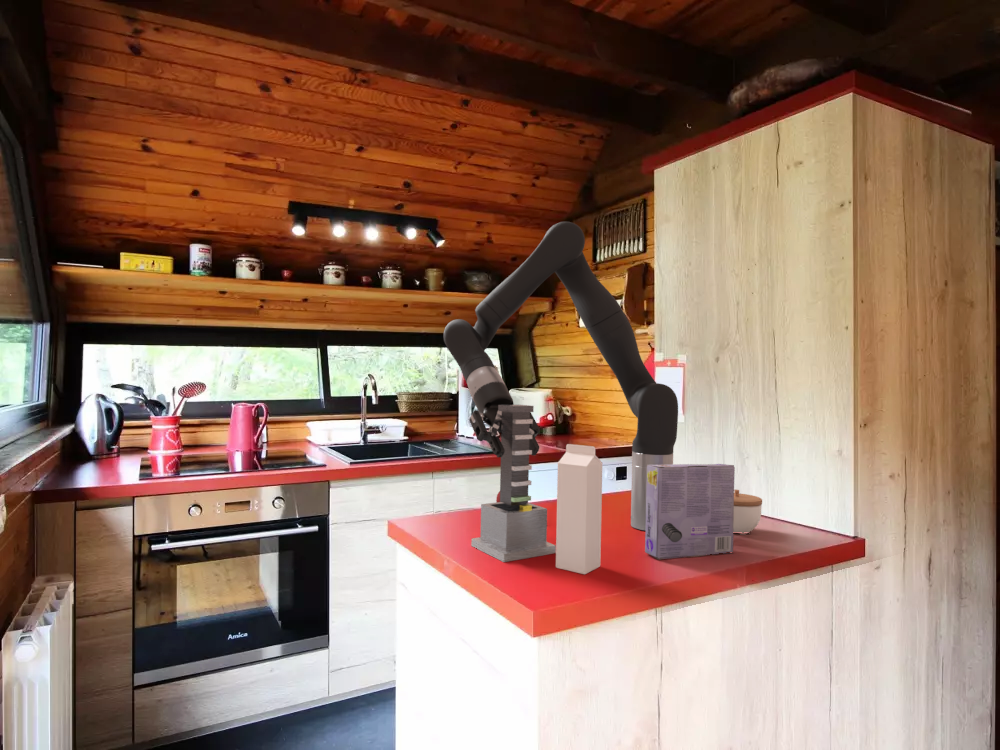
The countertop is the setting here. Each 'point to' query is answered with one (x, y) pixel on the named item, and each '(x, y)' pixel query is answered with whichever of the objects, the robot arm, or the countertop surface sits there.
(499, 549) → the stand
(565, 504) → the milk
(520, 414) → the column
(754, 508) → the lidded jar
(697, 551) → the cake pan box
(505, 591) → the countertop surface
